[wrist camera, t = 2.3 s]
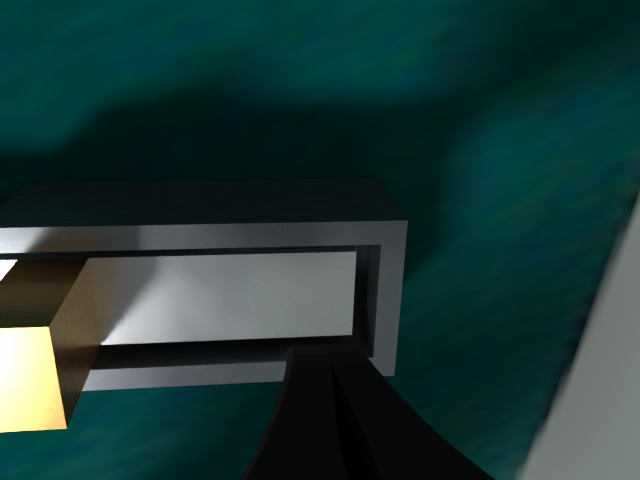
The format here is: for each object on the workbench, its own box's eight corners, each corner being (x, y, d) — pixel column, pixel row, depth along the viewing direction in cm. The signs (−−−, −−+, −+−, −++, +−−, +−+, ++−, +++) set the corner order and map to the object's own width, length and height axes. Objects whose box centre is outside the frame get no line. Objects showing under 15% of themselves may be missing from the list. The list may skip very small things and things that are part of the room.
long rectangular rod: (341, 298, 18) (374, 411, 13) (-96, 312, 16) (-235, 445, 12) (344, 222, 17) (381, 314, 12) (-119, 231, 15) (-281, 338, 11)
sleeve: (370, 311, 19) (394, 375, 16) (53, 322, 18) (13, 394, 15) (378, 177, 17) (407, 220, 14) (29, 181, 16) (-23, 228, 13)
